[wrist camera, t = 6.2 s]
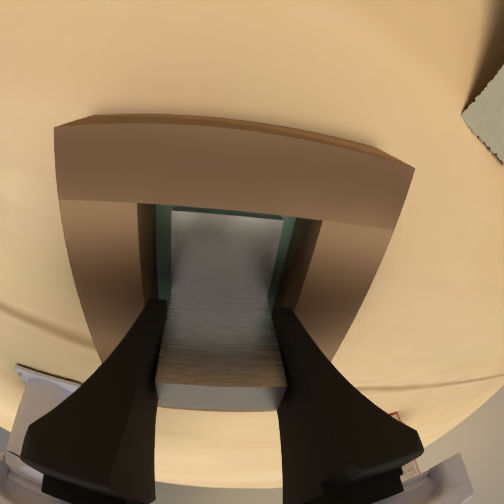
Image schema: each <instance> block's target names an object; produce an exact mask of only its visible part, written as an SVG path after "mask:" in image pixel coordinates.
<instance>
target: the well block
mask: <svg viewBox="0 0 504 504" xmlns="http://www.w3.org/2000/svg"><path fill="white" fill-rule="evenodd" d="M54 151H55V168H56V180H57V190H58V198H59V206H60V213H61V220H62V226H63V231H64V237H65V242H66V247H67V252H68V257H69V261H70V265H71V269H72V274H73V277H74V281H75V285H76V289H77V292H78V296H79V299H80V303H81V306H82V309H83V312H84V316H85V319H86V322H87V325H88V328H89V330H90V333H91V336H92V339H93V342H94V344H95V347H96V349H97V352H98V355H99V357H100V360H101V362H102V363H103V362H104V361H105V360H106V359H107V358H108V356H109V355H110V354H111V353H112V351H113V350H114V349H115V348H116V346H117V345H118V344H119V343H120V341H121V340H122V339H123V337H124V336H125V335H126V333H127V332H128V330H129V329H130V328H131V326H132V325H133V323H134V322H135V320H136V319H137V317H138V316H139V314H140V313H141V311H142V310H143V308H144V306H145V305H146V303H147V301H148V300H149V299H151V298H152V299H162V300H166V303H167V310H168V305H169V300H170V295H171V218H172V209H173V207H174V205H175V206H188V207H200V208H212V209H223V210H234V211H244V212H254V213H264V214H273V215H281V216H282V218H283V220H284V222H283V227H282V232H281V236H280V241H279V246H278V251H277V255H276V260H275V265H274V269H273V274H272V279H271V283H270V288H269V292H268V297H267V298H268V303H269V307H270V311H271V315H272V317H273V314H274V310H275V307H286V308H291V309H292V310H293V312H294V313H295V315H296V316H297V318H298V319H299V320H300V322H301V323H302V325H303V326H304V328H305V329H306V331H307V332H308V334H309V335H310V336H311V338H312V339H313V340H314V342H315V343H316V344H317V346H318V347H319V348H320V350H321V351H322V352H323V354H324V355H325V356H326V357H327V359H328V360H329V361H330V362H331V360H332V359H333V357H334V355H335V353H336V352H337V350H338V348H339V346H340V344H341V343H342V341H343V339H344V337H345V335H346V333H347V332H348V330H349V328H350V326H351V324H352V322H353V320H354V318H355V316H356V314H357V312H358V310H359V308H360V306H361V304H362V302H363V300H364V298H365V296H366V294H367V292H368V290H369V288H370V286H371V283H372V281H373V279H374V277H375V275H376V272H377V270H378V268H379V266H380V263H381V261H382V259H383V256H384V254H385V251H386V249H387V247H388V244H389V242H390V239H391V237H392V234H393V231H394V229H395V226H396V224H397V221H398V218H399V216H400V213H401V210H402V207H403V204H404V201H405V199H406V196H407V193H408V190H409V187H410V183H411V180H412V177H413V174H414V171H415V168H413V167H412V166H410V165H408V164H406V163H404V162H402V161H401V160H399V159H397V158H395V157H393V156H391V155H389V154H387V153H385V152H383V151H381V150H379V149H377V148H374V147H371V146H367V145H364V144H360V143H356V142H352V141H348V140H344V139H340V138H336V137H332V136H328V135H323V134H319V133H314V132H309V131H304V130H299V129H294V128H288V127H282V126H276V125H270V124H264V123H257V122H249V121H242V120H233V119H224V118H213V117H201V116H186V115H163V114H118V115H95V116H89V117H86V118H82V119H79V120H76V121H72V122H69V123H66V124H63V125H60V126H57V127H54ZM157 407H163V408H173V409H184V410H198V411H219V412H265V411H277V409H265V410H212V409H192V408H179V407H168V406H160V403H159V399H158V405H157Z"/></svg>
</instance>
